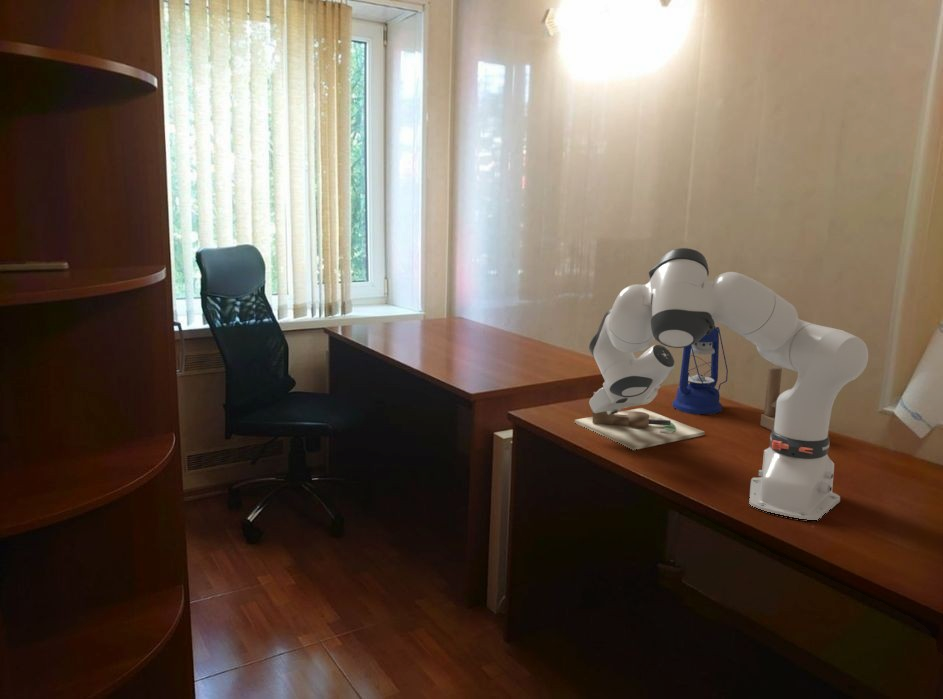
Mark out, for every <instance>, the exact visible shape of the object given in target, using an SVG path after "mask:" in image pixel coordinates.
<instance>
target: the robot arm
mask: <svg viewBox="0 0 943 699" xmlns="http://www.w3.org/2000/svg"><path fill="white" fill-rule="evenodd" d="M707 261H708V260H707V259H706V257H705V255H704V254H703V253H702V252H700V251H698V250H695V249H692V248H687V247H685V248H684V247H679V248H678V247H677V248H675V249H672V250H670V251H668V252H667V253H666V254H664V255H663V256H662V257H661V258H660V259H659V261H658V262H657V264H656V265H655V266H654V267H652V268H650V270H649V271H648V275H649V276H648V277H649V278H650V280H648V282H646V283H645V284H631V285H628V286H627V287H624V288H623V289H622V290H621V291H620V292H619V293H618V294H617V297H616V298H615V301H614V302H613V304H612V307H611V309H608V311H607V312H605V314H604V315H603V317H602V319H601V322H600V324H599V327H598V330H597V331H596V332H597V333H595V334H594V336H593V337H592V338H591V341H590V342H589V345H588V349H589V351H590V353H591V355H592V356H593V358H594V360H595V362H596V365H597V367H598V368H599V371H600V374H601V375H602V377H603V380H604V381H603V383H602V387H601V388H598V390H597V391H595V392H596V393H595V394H594V393H593V396H592V397H591V398H590V399H589V402H588V404H589V406H590V409H591V411H592V413H593V412H594V413H600V412H605V411H606V412H607V414H608V415H609V414H614V413H618V412H621V411H623V410H624V409H626V408H632V407H637V406H643V405H648V404H649V403H651V402H652V401H653V400H655V398H656V397H657V395H658V393H659V389H660V388H661V387H662V383H664V382H665V380H666V379H667V378H668V376H670V374H671V373H672V371H673V369H674V368H675V359H674V356H673V355H672V353H671V352H670V350H669V349H668V348H674V349H682V348H683V349H684V347H688V346H690V345H692V344H694V343H696V342H698V341H700V340H701V339H702V338H703V337H704V336H705V335H708V334H710V333H711V332H712V331H713V329H714V327H716V326H715V323H720V324H722V325H725V326H726V327H728V328H729V329H730V330H732V331H734V332H735V333H736V334H737V335H739V336H741V337H743V338H744V339H745V340H747V341H748V342H750V343H752V344H753V345H754V346H756V350H757V352H758V354H759V356H761V357H762V358H763V359H764V360H766V361H768V362H770V363H771V364H773V365H775V366H776V367H780V368H783V369H787V370H790V371H793V372H797V378H796V382H795V384H794V385H793V387H791V388H789V389H786V390H785V391H783V392H781V393H780V394H779V397H778V399H777V403H776V413H775V423H774V428H773V429H772V431H771V433H770V436H769V439H770V440H769V447H768V448H765V449H764V450H763V457H762V458H763V459H762V468H761V469H759V470H758V472H757V475H758V477H757V476H756V477H752V478H751V479H750V485H749V486H750V487H749V497H750V498H749V499H748V505H749V504H750V505H751V506H750V505H749V506H750V507H752V506H753V507H752V508H754V507H756V508H758V509H761V510H764V511H767V512H771V513H775V514H780V515H784V516H789V517H794V518H799V519H807V520H817V521H819V520H820V519H822V518H823V517H824V516H825V515H826V514H828V512H830V511H831V510H832V509H833V508H834V507H836V505H837V504H839V503H840V502H841V496H840V495H839V494H837V493H835V492H833V488H834V487H833V483H834V474H835V473H834V472H835V463H834V462H833V460H831V458H830V457H829V455H828V453H829V449H830V444H831V443H830V436H829V429H830V421H831V415H832V410H833V405H834V402H835V400H836V398H837V396H838V394H839V393H840V391H841V390H842V389H843V388H844V386H845V385H847V384H848V383H850V382H852V381H855V380H856V379H857V378H858V377H860V376H861V375H862V374H863V372H864V371H865V370H866V367H867V366H868V362H869V350H868V346H867V344H866V342H865V341H863V339H862V338H860V337H858V336H856V335H854V334H852V333H850V332H848V331H845V330H842V329H839V328H833V327H830V326H823V325H821V324H817V323H816V324H815V323H812V322H809V321H805V320H802V319H800V318H799V314H798V311H797V309H796V307H795V306H794V305H793V304H792V303H790V302H789V301H787V299H785V298H783V297H782V296H780V295H779V294H778V293H776V292H775V291H774V290H772V289H770V288H769V287H767V286H766V285H764V284H763V283H761V282H760V281H757V280H755V279H754V278H753V277H749V276H747V275H746V274H742V273H739V272H735V271H727V272H726V271H725V272H723V273H721V274H719V275H716V277H715V278H713V279H712V280H710V281H709V279H708V278H709V274H710V271H709V265H708V262H707ZM709 330H710V331H709ZM654 341H656V342H658V343H660V344H654V345H652V344H653V342H654ZM651 345H652V346H651ZM667 347H668V348H667ZM646 349H647V350H646ZM643 351H644V352H643ZM640 352H643V353H642V354H641V355H640V356H638V357H637V358H636V356H635V355H634V354H635V353H640ZM756 508H755V509H756ZM758 509H757V510H758ZM830 509H831V510H830ZM761 510H760V511H761ZM829 510H830V511H829ZM764 511H763V512H764ZM767 512H766V513H767ZM825 513H826V514H825ZM824 514H825V515H824ZM823 515H824V516H823ZM822 516H823V517H822ZM819 518H820V519H819ZM818 519H819V520H818ZM807 520H806V521H807Z"/></svg>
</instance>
